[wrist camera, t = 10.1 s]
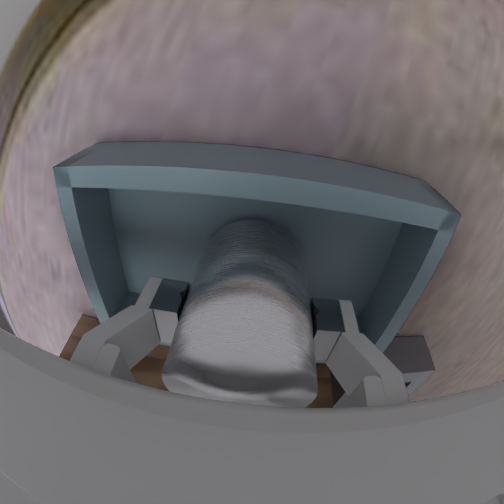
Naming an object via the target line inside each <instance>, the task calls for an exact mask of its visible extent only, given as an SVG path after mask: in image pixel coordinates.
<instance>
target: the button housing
mask: <svg viewBox="0 0 504 504" xmlns="http://www.w3.org/2000/svg"><path fill="white" fill-rule="evenodd" d="M383 354H384V355H385V356H386V357H387V358H388V359H389V360H390V361H391V362H392V363H393V364H394V365H395V367H396V368H397V369H398V370H399V371H400V372H401V373H402V375H403V378H404V382H405V386H406V390H407V395H408V396H409V395H410V394H411V393H413V392H414V391H415V390H416V389H417V388H418V387H419V386H420V385H421V384H422V383H423V382H424V381H425V380H426V379H427V378H428V377H429V376H430V375H431V374H432V373H433V372H434V371H435V367H434V364H433V361H432V358H431V355H430V352H429V350H428V347H427V344H426V341H425V339H424V336H416V337H394V338H393V340H392V341H391V342H390V344H389V345H388V347H387V348H386V349H385V351H384V352H383ZM330 376H331V386H332V397H333V408H339V406H340V405H341V404H342V403H343V402H344V401H345V400H346V399H347V398H348V397H349V396H348V395H347V394H346V392H345V391H344V389H343V388H342V386H341V385H340V383H339V382H338V380H337V379H336V377H335V376H334V375H333V373H332V372H331V371H330Z"/></svg>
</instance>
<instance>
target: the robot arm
mask: <svg viewBox="0 0 504 504" xmlns="http://www.w3.org/2000/svg"><path fill="white" fill-rule="evenodd" d="M190 287H191V284H190V283H189V282H184V281H179V280H173V279H167V278H160V277H155V276H151V277H150V278H149V279H148V281H147V283H146V285H145V287H144V289H143V291H142V293H141V294H140V296H139V298H138V300H137V302H136V304H135V306H133V305H131V306H129V307H127V308H126V309H124V310H122V311H121V312H119V313H117V314H116V315H114V316H113V317H111V318H109V319H108V320H106V321H104V322H103V323H101V324H100V325H98V326H96V327H95V328H93V329H91V330H90V331H88V332H87V333H85V334H83V336H82V338H81V340H80V342H79V344H78V345H77V347H76V349H75V351H74V353H73V355H72V357H71V359H70V361H68V360H66V359H63V358H61V357H59V356H56V355H54V354H52V353H49V352H47V351H45V350H43V349H40V348H38V347H36V346H34V345H32V344H30V343H28V342H26V341H24V340H22V339H20V338H18V337H16V336H14V335H12V334H10V333H8V332H6V331H5V330H3V329H1V328H0V504H504V380H503V381H500V382H497V383H493V384H490V385H487V386H483V387H480V388H476V389H472V390H469V391H465V392H460V393H456V394H452V395H447V396H442V397H437V398H432V399H426V400H420V401H413V402H409V399H408V395H407V390H406V386H405V382H404V378H403V375H402V373H401V372H400V371H399V370H398V369H397V368H396V367H395V365H394V364H393V363H392V362H391V361H390V360H389V359H388V358H387V357H386V356H385V355H384V354H383V353H382V352H381V351H380V350H379V349H378V348H377V347H376V346H375V345H374V344H373V343H372V342H371V341H370V340H369V339H368V338H367V337H366V336H365V335H364V334H363V333H359V329H358V325H357V321H356V317H355V313H354V309H353V305H352V302H351V301H350V300H340V299H338V300H337V299H326V298H314V297H312V298H311V299H310V307H311V316H312V326H313V336H314V347H315V359H316V361H319V362H326V364H327V366H328V367H329V369H330V370H331V372H332V373H333V375H334V376H335V377H336V379H337V380H338V382H339V383H340V385H341V386H342V388H343V389H344V391H345V392H346V394H347V395H348V396H349V397H348V398H347V399H346V400H345V401H344V402H343V403H342V404H341V405H340V406H339V408H293V407H275V406H262V405H251V404H242V403H233V402H226V401H219V400H212V399H206V398H200V397H195V396H189V395H184V394H179V393H174V392H170V391H165V390H161V389H157V388H153V387H149V386H145V385H141V384H137V383H136V381H135V379H134V377H133V375H132V373H131V371H130V369H131V368H133V367H134V366H135V365H136V364H137V363H138V362H139V361H140V360H142V359H143V358H144V357H145V356H146V355H147V354H148V353H150V352H151V351H152V350H153V349H154V348H155V347H156V346H157V345H159V344H160V342H164V343H170V344H171V342H172V339H173V336H174V333H175V330H176V327H177V324H178V321H179V318H180V315H181V312H182V310H183V307H184V304H185V301H186V298H187V295H188V292H189V290H190Z"/></svg>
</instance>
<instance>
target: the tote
mask: <svg viewBox="0 0 504 504" xmlns="http://www.w3.org/2000/svg"><path fill="white" fill-rule="evenodd" d="M53 170H54V176H55V181H56V187H57V192H58V196H59V201H60V205H61V210H62V214H63V218H64V222H65V226H66V229H67V233H68V237H69V240H70V243H71V247H72V250H73V253H74V256H75V259H76V262H77V265H78V268H79V271H80V274H81V277H82V280H83V282H84V285H85V288H86V290H87V293H88V296H89V298H90V301H91V303H92V305H93V308H94V310H95V313H96V315H97V317H98V319H99V322H100V324H101V323H103V322H104V321H106V320H108V319H109V318H111V317H113V316H114V315H116V314H117V313H119V312H121V311H122V310H124V309H126V308H127V307H129V306H131V305H133V306H135V304H136V302H137V300H138V298H139V296H140V294H141V293H142V291H143V289H144V287H145V285H146V283H147V281H148V279H149V278H150V277H151V276H155V277H160V278H167V279H173V280H179V281H184V282H189V283H190V284H192V281H193V278H194V276H195V273H196V270H197V268H198V265H199V262H200V259H201V257H202V254H203V251H204V249H205V246H206V244H207V242H208V240H209V239H210V237H211V236H212V235H213V234H214V233H215V232H216V231H217V230H219V229H220V228H222V227H223V226H225V225H227V224H230V223H232V222H236V221H240V220H248V219H255V220H263V221H268V222H271V223H274V224H276V225H279V226H281V227H282V228H284V229H286V230H287V231H288V232H290V233H291V234H292V235H293V236H294V237H295V238H296V239H297V241H298V242H299V244H300V246H301V248H302V250H303V253H304V258H305V265H306V273H307V281H308V289H309V298H310V299H311V298H312V297H314V298H326V299H337V300H338V299H340V300H350V301H351V302H352V305H353V309H354V313H355V317H356V321H357V325H358V329H359V333H363V334H364V335H365V336H366V337H367V338H368V339H369V340H370V341H371V342H372V343H373V344H374V345H375V346H376V347H377V348H378V349H379V350H380V351H381V352H382V353H383V352H384V351H385V349H386V348H387V347H388V345H389V344H390V342H391V341H392V340H393V338H394V337H395V335H396V334H397V332H398V331H399V329H400V328H401V326H402V325H403V324H404V322H405V320H406V319H407V317H408V316H409V314H410V313H411V311H412V310H413V308H414V306H415V305H416V303H417V301H418V300H419V298H420V296H421V295H422V293H423V291H424V290H425V288H426V286H427V284H428V283H429V281H430V279H431V277H432V275H433V274H434V272H435V270H436V268H437V266H438V264H439V262H440V260H441V258H442V256H443V254H444V252H445V250H446V248H447V246H448V244H449V242H450V240H451V238H452V235H453V233H454V231H455V229H456V226H457V224H458V222H459V219H460V217H461V214H460V213H459V212H458V211H457V210H456V209H455V208H454V207H453V206H452V205H451V204H450V203H449V202H448V201H447V200H446V199H445V198H444V197H443V196H441V195H440V194H439V193H438V192H437V191H436V190H435V189H434V188H432V187H431V186H430V185H429V184H428V183H427V182H426V181H423V180H420V179H416V178H413V177H409V176H406V175H402V174H398V173H394V172H390V171H386V170H382V169H378V168H374V167H370V166H365V165H361V164H356V163H352V162H347V161H342V160H337V159H331V158H326V157H320V156H315V155H309V154H302V153H296V152H289V151H282V150H274V149H266V148H257V147H248V146H237V145H225V144H211V143H192V142H111V143H96V144H94V145H92V146H90V147H88V148H86V149H84V150H83V151H81V152H79V153H77V154H75V155H73V156H72V157H70V158H68V159H66V160H65V161H63V162H61V163H59V164H58V165H56V166H54V167H53ZM160 344H161V345H166V346H170V345H171V344H170V343H164V342H160ZM316 363H326V362H319V361H316Z"/></svg>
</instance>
